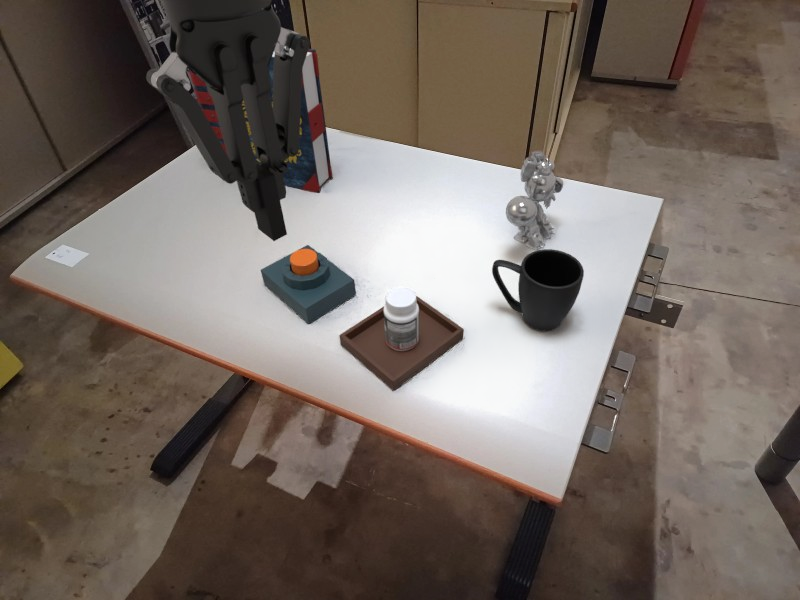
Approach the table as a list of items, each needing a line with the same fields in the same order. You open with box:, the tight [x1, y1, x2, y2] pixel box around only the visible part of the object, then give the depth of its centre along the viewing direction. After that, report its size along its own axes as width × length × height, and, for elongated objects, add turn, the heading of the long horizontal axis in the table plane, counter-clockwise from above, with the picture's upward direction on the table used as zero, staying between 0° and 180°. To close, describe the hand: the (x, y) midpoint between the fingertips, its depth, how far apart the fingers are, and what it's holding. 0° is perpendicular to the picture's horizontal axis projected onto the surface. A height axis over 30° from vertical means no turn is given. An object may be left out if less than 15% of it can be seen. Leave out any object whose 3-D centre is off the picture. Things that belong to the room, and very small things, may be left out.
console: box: [260, 244, 357, 325], centre depth 84 cm, size 12×9×5 cm
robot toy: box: [505, 149, 564, 251], centre depth 88 cm, size 15×6×15 cm, turn 144°
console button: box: [290, 248, 319, 276], centre depth 82 cm, size 4×4×2 cm
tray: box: [338, 295, 465, 392], centre depth 77 cm, size 13×11×2 cm
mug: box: [491, 248, 585, 332], centre depth 77 cm, size 8×12×10 cm
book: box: [188, 48, 333, 194], centre depth 103 cm, size 25×7×25 cm, turn 67°
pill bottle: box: [383, 286, 419, 351], centre depth 74 cm, size 5×5×8 cm
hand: (272, 231), depth 53 cm, fingers closed
